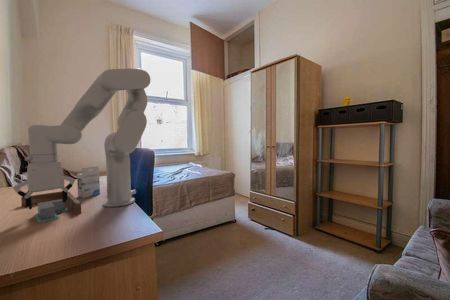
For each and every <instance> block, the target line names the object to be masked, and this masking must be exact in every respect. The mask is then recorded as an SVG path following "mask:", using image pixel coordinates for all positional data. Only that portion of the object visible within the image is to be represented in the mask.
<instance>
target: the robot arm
mask: <svg viewBox="0 0 450 300" xmlns="http://www.w3.org/2000/svg"><path fill="white" fill-rule="evenodd" d="M150 84H151V76H150V74H149V72H148V71H146V70H145V69H143V68H139V67H132V68H109V69H106V70H103V71H102V72H101V74H100V75H98V76H97V78H96V79H95V80H94V81H93V82H92V84H91V85H90V86H89V87H88V88H87V90H86V91H85V92H84V94H83V95H82V96H81V98H80V99H79V100H77V103H76V104H75V105H74V107H73V109H72V110H71V111H70V112H69V114H68V115H66V117H65V118H64V120H63V121H62V122H61V123H60V125H59V124H58V125H50V124H33V125H32V124H31V125H30V126H29V127H28V128H27V131H28V133H27V134H28V146H29V156H25V157H24V161H26V162H30V163H28V164H27V169H26V171H27V172H26V180H24V181H22V182H21V183H18V184H16V185H14V186H13V187H12V189H13V191H15V192H16V193H17V195H19V196H21V197H24V198H25V199H26V206H25V207H26V208H28V209H29V210H32V209H33V205H32V202H31V197H30V196H32V195H33V193H40V192H45V191H53V190H58V189H59V190H60V189H61V191H62V201H63V203H65V204H66V203H67V202H66V200H67V199H68V197H67V192H69V190H70V189H71V188H72V187H73V185H74V183H75V181H76V180H75V178H73V177H69V176H66V175H65V176H64V171H63V170H64V169H63V166H62V162H61V161H59V157H58V147H57V146H58V144H59V145H75V144H77V143H78V142H80V141H81V139H82V136H83V134H82V132H83V131H84V129H86V127H87V126H88V125H89V123H90V122H91V121H92V120H94V119H95V118H96V117H98V116H99V115H100V114H101V113H102V112H103V111H104V109H105V108H106V106H107V104H108V103H109V102H110V101H111V99H112V98H113V97H114V96H115V94H116V93H117V92H118V91H126V92H127V94H128V95H127V99H126V103H125V105H124V106H123V108H122V110H121V111H120V112H121V113H120V114H119V116H118V117H117V121H116V122H117V127H118V129H117V131H115V132H112V133H109V134H108V135H107V136H106V138H105V139H104V144H103V145H104V153H105V161H106V162H105V165H106V167H105V168H106V197H107V199H105V200H104V201H103V207H104V206H105V207H108V208H114V207H115V208H117V207H123V206H128V205H131V204H132V203H135V201H136V198H135V197H133V195H135V194H136V193H137V190H136V189H132V188H131V187H132V186H131V159H130V157H131V156H130V154H131V153H133V152H134V151H135V150H136V149H137V146H138V144H139V143H140V141H141V138H142V136H143V134H144V132H145V129H146V128H147V123H148V120H147V119H148V118H147V116H146V115H145V111H146V109H147V106H148V96H147V92H146V90H145V89H147V88H148V87H149V85H150ZM65 181H68V182H69V183H68V184H67V185H66V186H65ZM26 185H27V191H26V192H25V191H23V190H21V188H23V187H25V186H26Z"/></svg>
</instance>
